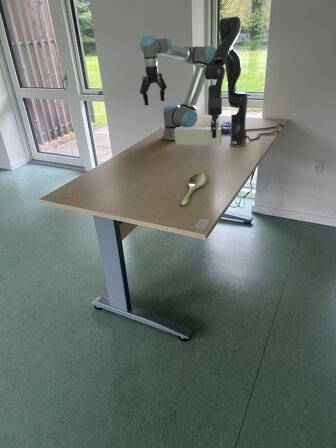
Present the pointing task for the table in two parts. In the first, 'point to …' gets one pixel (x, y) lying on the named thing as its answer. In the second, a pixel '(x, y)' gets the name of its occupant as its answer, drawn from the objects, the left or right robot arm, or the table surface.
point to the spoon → (195, 184)
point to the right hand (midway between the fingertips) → (215, 136)
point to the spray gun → (226, 127)
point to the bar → (197, 136)
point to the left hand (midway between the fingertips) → (154, 103)
